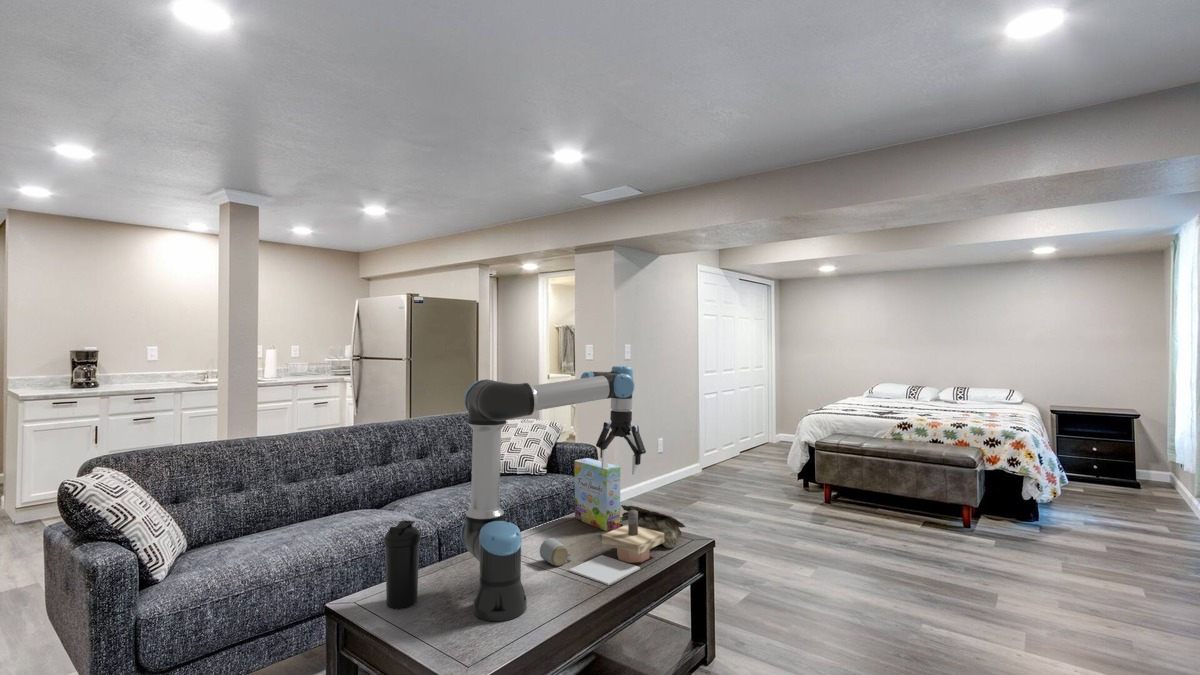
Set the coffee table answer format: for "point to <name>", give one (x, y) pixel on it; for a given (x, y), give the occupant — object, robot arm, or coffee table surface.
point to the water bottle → (402, 565)
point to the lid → (633, 536)
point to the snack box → (597, 494)
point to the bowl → (632, 556)
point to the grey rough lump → (656, 524)
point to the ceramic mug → (554, 552)
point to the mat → (604, 569)
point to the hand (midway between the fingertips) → (619, 470)
